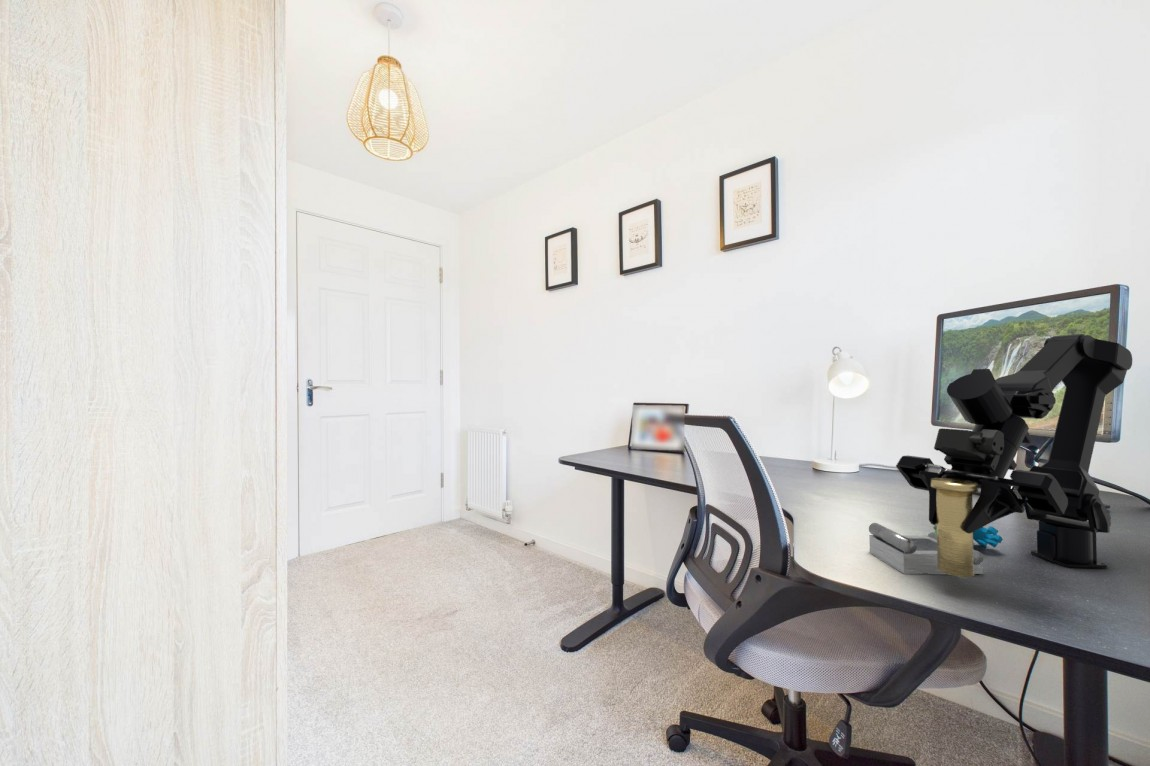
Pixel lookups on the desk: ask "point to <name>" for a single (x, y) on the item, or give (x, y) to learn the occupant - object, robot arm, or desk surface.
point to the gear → (984, 536)
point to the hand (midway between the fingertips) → (948, 526)
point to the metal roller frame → (910, 551)
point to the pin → (954, 525)
